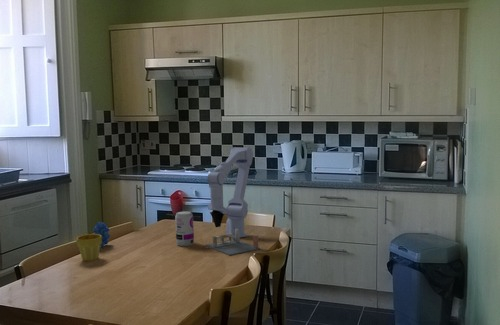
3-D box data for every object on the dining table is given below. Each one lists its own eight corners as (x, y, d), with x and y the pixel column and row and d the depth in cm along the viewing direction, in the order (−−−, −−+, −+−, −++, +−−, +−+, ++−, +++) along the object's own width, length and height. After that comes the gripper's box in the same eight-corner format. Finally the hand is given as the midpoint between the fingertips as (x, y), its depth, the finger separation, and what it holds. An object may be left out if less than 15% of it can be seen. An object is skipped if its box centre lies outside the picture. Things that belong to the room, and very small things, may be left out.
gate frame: (205, 245, 239) (205, 230, 239) (235, 240, 248) (234, 225, 247) (229, 255, 222) (228, 239, 221) (260, 249, 231) (259, 233, 230)
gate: (234, 242, 240) (233, 232, 240) (235, 242, 239) (235, 233, 239) (213, 246, 234) (212, 236, 234) (214, 246, 233) (214, 237, 233)
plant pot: (95, 262, 218) (94, 240, 217) (73, 262, 220) (71, 239, 219) (107, 255, 228) (105, 234, 227) (85, 255, 230) (84, 233, 229)
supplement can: (195, 241, 247) (194, 210, 246) (192, 246, 239) (190, 214, 238) (178, 242, 248) (177, 211, 246) (174, 246, 240) (173, 214, 238)
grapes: (102, 250, 237) (100, 224, 236) (89, 249, 239) (88, 224, 238) (117, 244, 248) (115, 219, 247) (105, 243, 250) (103, 218, 249)
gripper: (201, 196, 243) (202, 225, 244) (217, 200, 231) (218, 230, 232) (214, 195, 247) (215, 223, 248) (230, 198, 235) (231, 228, 236)
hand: (217, 226), depth 240 cm, fingers closed
